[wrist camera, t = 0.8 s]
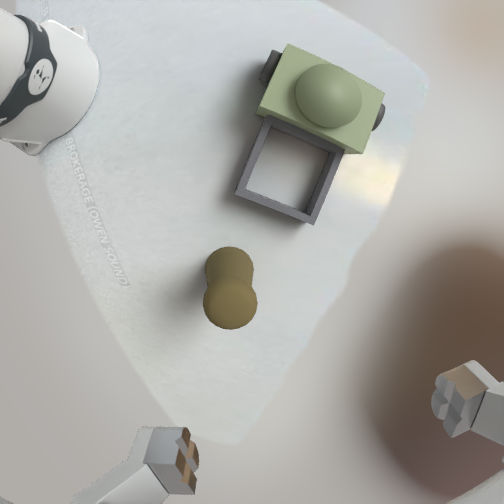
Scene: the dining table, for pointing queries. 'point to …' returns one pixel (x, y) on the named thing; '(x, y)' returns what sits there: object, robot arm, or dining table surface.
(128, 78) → the dining table surface
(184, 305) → the dining table surface
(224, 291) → the brown knobbed peg
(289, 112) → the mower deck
